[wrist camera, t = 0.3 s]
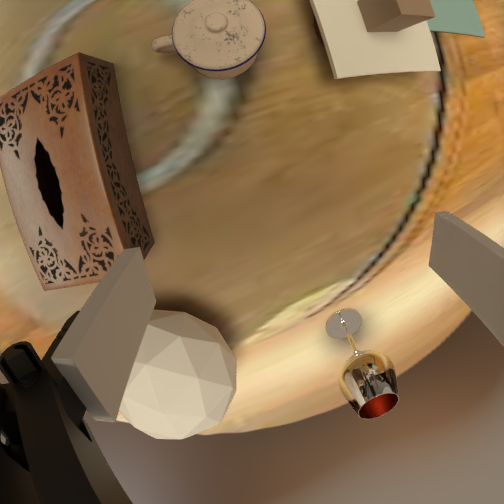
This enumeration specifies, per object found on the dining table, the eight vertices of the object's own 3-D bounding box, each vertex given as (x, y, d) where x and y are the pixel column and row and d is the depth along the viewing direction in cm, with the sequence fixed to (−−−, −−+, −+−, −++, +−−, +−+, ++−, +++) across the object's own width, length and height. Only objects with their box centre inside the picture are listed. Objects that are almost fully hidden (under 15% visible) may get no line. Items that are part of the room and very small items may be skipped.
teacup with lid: (257, 14, 29) (265, -22, 18) (262, 78, 33) (271, 62, 22) (162, 25, 29) (133, -6, 18) (165, 88, 33) (135, 78, 22)
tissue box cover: (32, 101, 31) (-11, 104, 22) (114, 63, 31) (78, 52, 22) (74, 257, 42) (44, 290, 33) (154, 241, 42) (134, 276, 33)
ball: (157, 301, 54) (68, 309, 35) (259, 308, 46) (186, 328, 28) (162, 397, 52) (84, 432, 34) (259, 418, 45) (197, 483, 26)
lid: (298, -27, 22) (316, -65, 14) (403, -26, 21) (441, -49, 13) (334, 79, 28) (367, 68, 20) (435, 71, 27) (483, 67, 18)
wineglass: (325, 304, 47) (358, 391, 31) (371, 303, 47) (416, 381, 31) (316, 342, 51) (341, 427, 34) (359, 340, 51) (394, 418, 35)
